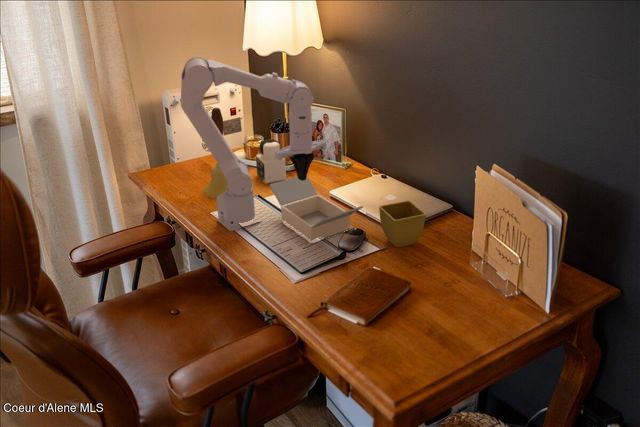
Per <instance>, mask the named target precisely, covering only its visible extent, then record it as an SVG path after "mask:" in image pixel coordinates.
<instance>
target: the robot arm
mask: <svg viewBox="0 0 640 427" xmlns="http://www.w3.org/2000/svg"><path fill="white" fill-rule="evenodd" d="M180 78H181V83H180V106H181V109H182V111H183V112H184V113H185V116H186V117H187V118H188V119H189V122H190V123H191V124H192V126H193V128H194V129H195V131H196V132H197V134H198V135H199V137H200V138H201V140H202V141H203V143H204V145H205V146H206V148H207V149H208V150H209V152H210V153H211V155H212V156H213V159H214V160H215V161H216V164H217V163H218V164H219V166H220V168H221V170H222V172H223V174H224V176H225V178H226V180H227V183H228V185H227V187H226V191H225V192H224V193H223V194H221V195H219V196H218V197H217V198H216V209H217V217H218V218H217V220H216V221H217V222H218V223H219V224H221V225H222V226H223V227H225V228H226V229H227V230H228V231H230V232H232V231H236V230H239V228H240V226H239V225H238V224H239V223H244V222H248V221H250V220H252V219H254V217H255V215H256V211H255V199H254V198H255V197H254V187H253V185H254V184H253V180H252V178H251V174H250V170H249V167H248V165H247V164H246V163H245V162H244V161H242V160H240V159H239V158H238V156H237V155H236V154H235V152H234V151H233V150H232V149H231V146H230V145H229V144H228V142H227V140H226V139H225V137H224V135H223V136H222V134H221V133H220V131H219V129H218V128H217V126H216V125H215V123H214V121H213V120H212V118H211V115H210V114H209V112H208V110H207V109H206V108H205V106H204V104H203V102H204V98H205V95H206V93H207V92H208V91H209V90H210V88H211V87H212V85H213V84H214V87H218V86H220V85H222V84H224V83H228V84H233V85H237V86H241V87H246V88H250V89H253V90H257V91H258V93H259V96H260V97H263V98H266V99H270V100H273V101H276V102H279V103H282V104H289V106H288V107H289V111H288V119H289V120H288V121H289V122H288V126H289V145H287V146H285V147H283V148H280V150H278V151H275V158H276V159H277V160H282V159H283V158H285V159H287V158H289V159H290V162H292V164H293V166H294V167H293V168H294V169H295V172H296V173H295V174H296V175H297V176H296V177H298V179H300V180H301V181H303V180H306V177H308V172H309V169H310V167H311V164H312V162H313V160H314V159H315V154H314V153H313V151H318V150H326V149H327V141H325V140H323V139H321V140H313V134H312V133H313V129H312V128H313V126H312V124H313V122H312V121H313V120H312V119H313V118H312V105H313V104H314V100H315V97H313V92H312V91H311V90H310V88H309V87H308V85H306V83H304V82H303V81H300V80H296V79H293V78H292V79H291V80H290V79H286V78H284V77H280V76H279V75H278V73H277V72H274V71H273V72H272V73H271V74H270V73H266V74H263V75H261V76H260V75H258V74H254V73H252V72H248V71H246V70H243V69H240V68H236V67H234V66H232V65H229V64H226V63H224V62H223V63H222V62H219V61H218V60H217V61H216V60H215V59H207V60H206V59H205V58H203V57H201V56H200V57H199V56H194V57H191V58H189V59H188V60H187V61H186V63H185V64H184V66H183V70H182V72H181V77H180ZM240 229H241V228H240Z"/></svg>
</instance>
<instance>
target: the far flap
mask: <svg viewBox="0 0 640 427" xmlns="http://www.w3.org/2000/svg"><path fill="white" fill-rule="evenodd" d="M269 187H270V190H271V191H272V193H273V194H274V196H275V198H276V200H277V202H278V204H279V205H280V207H281V206H283V205H286V204H290V203H293V202H296V201H299V200H303V199H306V198H309V197H312V196H316V195H318V193H317V191H316V189H315V187H314V185H313V184H312V182H311V180H310V179H309V177H308V176H307V177H306V180H303V181H301V180H300V179H298V177H297V176H294V177H291V178H286V180H282V181H277V182H272V183H269Z"/></svg>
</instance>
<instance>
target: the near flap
mask: <svg viewBox="0 0 640 427" xmlns="http://www.w3.org/2000/svg"><path fill="white" fill-rule="evenodd" d="M363 208H364V205H362V206H358V207H355V208H352V209H349V210H345V211H346V212H343V213H340V214H337V215H334V216H331V217H328V218H325V219H323V220H321V221H320V222H318V223H317V224H315V225H313V226H312V228H314V227H317V226H320V225H323V224H326V223H329V222H332V221H335V220H338V219H341V218H343V217H346V216H349V215H350V216H352V215H353V214H355V213H357V212H358V211H360V210H362V209H363Z"/></svg>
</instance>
